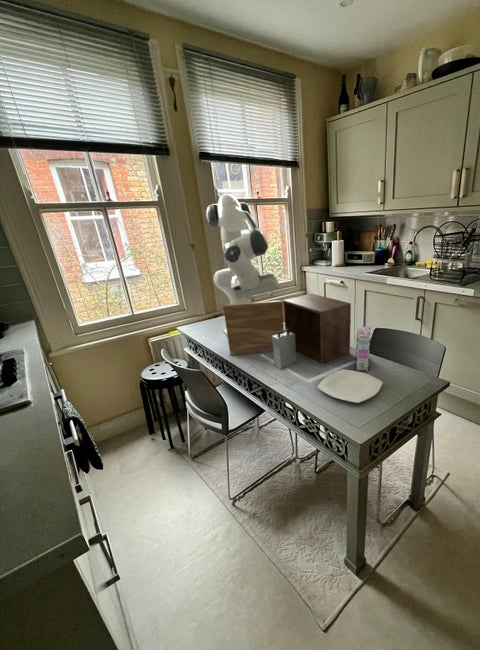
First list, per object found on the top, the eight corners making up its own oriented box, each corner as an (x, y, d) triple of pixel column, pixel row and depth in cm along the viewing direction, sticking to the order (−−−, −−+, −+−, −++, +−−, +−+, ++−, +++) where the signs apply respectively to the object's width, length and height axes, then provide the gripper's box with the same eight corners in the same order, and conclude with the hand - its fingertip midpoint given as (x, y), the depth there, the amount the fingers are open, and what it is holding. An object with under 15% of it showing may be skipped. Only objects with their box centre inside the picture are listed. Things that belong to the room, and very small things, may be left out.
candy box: (368, 371, 139) (370, 337, 133) (355, 370, 141) (356, 336, 134) (369, 358, 152) (370, 325, 145) (356, 357, 153) (357, 325, 146)
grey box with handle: (274, 365, 149) (271, 331, 142) (289, 359, 154) (287, 326, 147) (281, 369, 145) (278, 334, 138) (296, 363, 150) (294, 329, 143)
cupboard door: (231, 349, 168) (224, 302, 157) (284, 344, 171) (280, 297, 161) (230, 355, 162) (223, 305, 151) (285, 349, 165) (281, 300, 155)
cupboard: (322, 366, 146) (321, 311, 135) (286, 349, 166) (283, 300, 155) (349, 355, 156) (350, 303, 145) (312, 340, 176) (310, 293, 165)
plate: (360, 411, 112) (360, 407, 111) (309, 391, 126) (309, 387, 125) (389, 385, 128) (390, 381, 127) (341, 369, 142) (342, 366, 141)
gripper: (272, 266, 133) (283, 286, 145) (228, 278, 138) (242, 296, 150) (272, 278, 130) (283, 297, 142) (227, 289, 135) (242, 307, 147)
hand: (262, 297), depth 146 cm, fingers open, 8 cm apart
